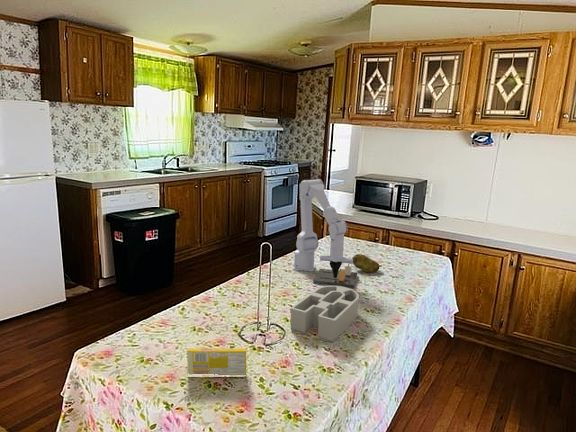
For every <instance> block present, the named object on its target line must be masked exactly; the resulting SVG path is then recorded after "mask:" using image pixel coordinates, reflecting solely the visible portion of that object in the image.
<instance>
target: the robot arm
mask: <svg viewBox="0 0 576 432" xmlns="http://www.w3.org/2000/svg"><path fill="white" fill-rule="evenodd" d="M299 197H300V218H301V219H300V220H301V223H300V225H301V232H300V233H298V234H297V236H296V238H297V239H296V242H295V243H296V244H295V246H296V250H295V252H294V259H293V260H294V264H293V265H294V267H293V270H295V271H296V270H297V271H303V270H304V271H303V272H314V271H315V269H316V267H317V266H316V265H315V252H316V251H317V249H318V248H319V239H318V235H317V233H316V232H314V227H313V223H314V222H313V200H312V199H313V198H314V197H315V199H317V201H318V203H319V204H320V206H321V208H322V209H323V212H322V215H323V216H324V218H325V221H326V222H327V224H328V232H329V238H330V247H329V248H330V250H329V251H330V252H329V255H320V256H319V262H322V261H323V262H325V261H326V262H329V266H330V268H331V269H330V270H332V272H333V276H334V278H337V274H338V271H339V270H340V269H341V267H342V264H346V263H347V264H352V265H354V264H353V259H352V258H350V257H345V256H344V244H345V243H344V242H345V234H346V233H347V232H348V225H347V224H348V223H347V222H346V221H345V220H343V219H342V218H341V217H340V216H339V214H338V211H337V210H336V208H335V207H333V206H331V205H330V201H329V199H328V197H327V195H326V192H325V184H324V182H323V180H322V179H320V178H317V179H304V180H302V181H301V182H300V183H299Z"/></svg>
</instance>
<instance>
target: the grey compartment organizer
mask: <svg viewBox="0 0 576 432" xmlns="http://www.w3.org/2000/svg"><path fill="white" fill-rule="evenodd" d="M359 300H360V294H359V293H358V292H357V291H356V290H354V289H353V288H348V287H342V286H331V285H324V286H323V285H322V286H320V287H317V288H316V289H314V290H313V291H312V292H310V293H309V294H308V295H305V297H303V298H302V299H300V301H299V300H298V301H297V303H295V304H294V305H292V306H291V307H290V308H289V309H290V329H291V330H292V332H295V333H298V334H302V335H305V334H306V335H307V333H308V332H309V331H310V330H312V328H313V329H317V330H318V331H317V337H318V339H319V340H321V341H324V342H328V343H330V344H334V343H335V342H336V341H337V340H338V339H339V338H340V336H341V335H342V334H343V333H345V331H347V329H348V328H349V327H350V326H351V325H352V324H353V323H354V322H355V321H356V319H357V317H358V313H359V312H358V308H359V302H360V301H359ZM291 330H290V331H291Z"/></svg>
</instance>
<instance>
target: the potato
mask: <svg viewBox="0 0 576 432" xmlns="http://www.w3.org/2000/svg"><path fill="white" fill-rule="evenodd" d="M351 259H353V264H352V265H353V266H354V267H355V268H356V269H360V271H362V272H365V273H375V272H378V271H379V270H380V264H379V263H378V262H377V261H375V260H374V259H372V258H370V257H368V256H367V255H365V254H362V253H357V254H355V255H354V256H352V258H351Z"/></svg>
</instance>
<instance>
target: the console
mask: <svg viewBox="0 0 576 432" xmlns="http://www.w3.org/2000/svg"><path fill="white" fill-rule="evenodd" d="M357 278H358V272H356V271H355V272H354V271H351V275H350V276H349V275H345V280H344V281H338V280H339V271H338V274H337V278H334V276H333V272H332V269H330V268H329V269H327V268H319V270H318V271H317V273H316V275H315V276H314V279H313V280H312V283H313V284H315V283H317V285H322V286H323V285H324V286H342V287H347V288H350V289H355V285H356V281H357Z"/></svg>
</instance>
